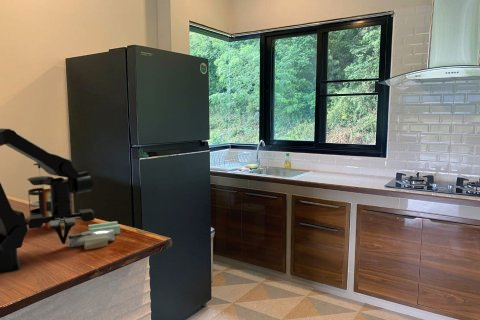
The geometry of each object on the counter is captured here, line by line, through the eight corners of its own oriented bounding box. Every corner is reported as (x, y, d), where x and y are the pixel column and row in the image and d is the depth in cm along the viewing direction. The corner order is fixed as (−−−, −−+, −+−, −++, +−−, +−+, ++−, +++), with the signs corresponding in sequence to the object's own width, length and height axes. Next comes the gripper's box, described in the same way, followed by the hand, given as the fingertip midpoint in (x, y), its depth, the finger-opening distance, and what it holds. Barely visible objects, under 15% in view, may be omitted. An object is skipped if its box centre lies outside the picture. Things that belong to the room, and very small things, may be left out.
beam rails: (107, 245, 118) (107, 237, 118) (85, 249, 115) (84, 240, 115) (103, 237, 126) (103, 229, 126) (81, 240, 123) (81, 232, 123)
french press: (27, 222, 142) (23, 165, 139) (27, 216, 150) (23, 162, 147) (60, 218, 148) (57, 163, 145) (58, 213, 156) (55, 161, 153)
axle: (112, 239, 125) (111, 227, 125) (114, 241, 122) (113, 229, 122) (68, 246, 119) (67, 234, 119) (69, 248, 115) (68, 236, 115)
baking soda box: (45, 230, 134) (42, 188, 131) (45, 225, 139) (42, 185, 137) (73, 226, 138) (71, 186, 136) (72, 222, 144) (70, 183, 142)
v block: (120, 233, 131) (119, 225, 130) (90, 238, 126) (90, 229, 125) (117, 228, 136) (116, 221, 135) (88, 233, 131) (88, 225, 130)
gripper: (89, 189, 126) (90, 232, 128) (27, 194, 116) (30, 240, 118) (93, 195, 116) (95, 241, 118) (26, 202, 107) (30, 252, 109)
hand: (63, 243), depth 116 cm, fingers closed
